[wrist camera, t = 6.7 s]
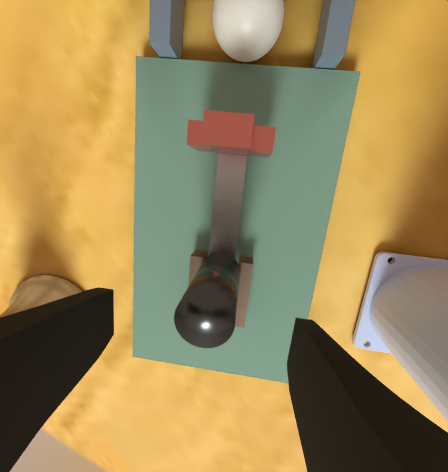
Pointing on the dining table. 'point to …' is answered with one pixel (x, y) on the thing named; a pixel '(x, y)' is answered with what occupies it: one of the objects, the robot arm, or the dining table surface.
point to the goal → (327, 44)
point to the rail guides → (244, 282)
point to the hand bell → (39, 292)
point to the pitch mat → (253, 202)
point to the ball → (247, 26)
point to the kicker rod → (221, 225)
